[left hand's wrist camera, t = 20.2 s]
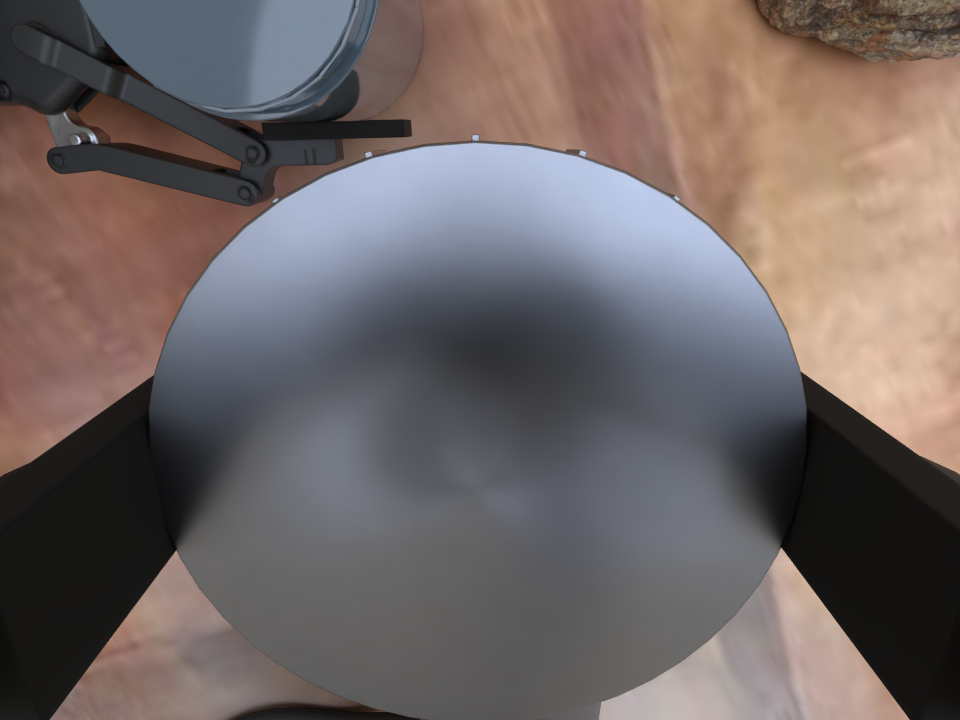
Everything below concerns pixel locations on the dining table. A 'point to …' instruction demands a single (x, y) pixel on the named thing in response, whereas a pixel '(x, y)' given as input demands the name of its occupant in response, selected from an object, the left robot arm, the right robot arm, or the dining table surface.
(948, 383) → the dining table surface
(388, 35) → the jar
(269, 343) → the lid
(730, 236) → the dining table surface
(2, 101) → the right robot arm
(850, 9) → the rock
